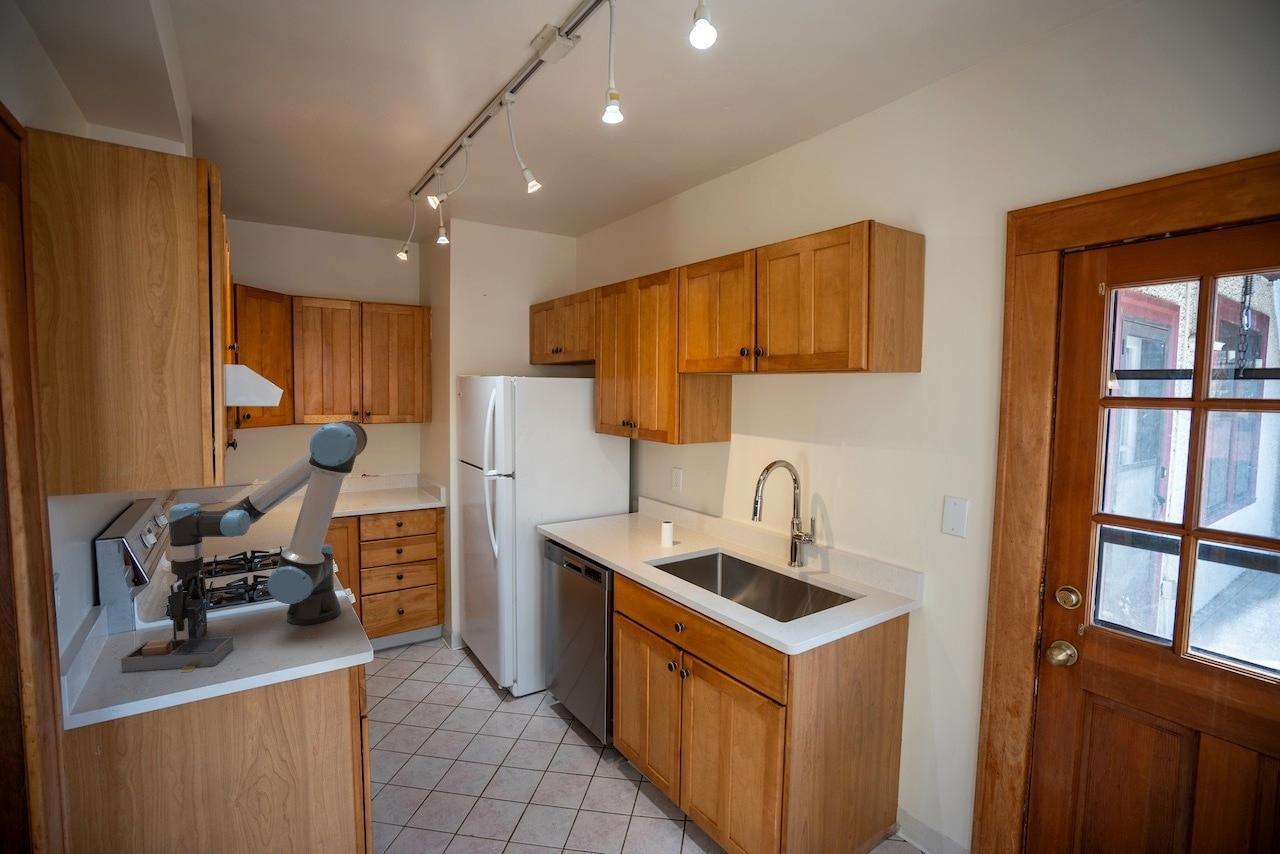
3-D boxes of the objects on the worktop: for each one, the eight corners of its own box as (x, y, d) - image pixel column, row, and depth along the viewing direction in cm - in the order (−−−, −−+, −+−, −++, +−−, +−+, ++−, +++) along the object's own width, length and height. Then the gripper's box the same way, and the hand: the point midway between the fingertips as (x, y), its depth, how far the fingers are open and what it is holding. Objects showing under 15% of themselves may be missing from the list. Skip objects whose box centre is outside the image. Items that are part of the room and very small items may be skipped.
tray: (146, 653, 169) (146, 641, 169) (233, 648, 173) (232, 636, 173) (115, 676, 157) (114, 663, 156) (209, 670, 160) (209, 657, 160)
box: (196, 643, 176) (194, 607, 175) (173, 645, 175) (171, 609, 174) (208, 632, 184) (206, 598, 183) (186, 634, 182) (184, 599, 181)
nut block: (150, 658, 167) (149, 641, 166) (172, 656, 168) (172, 638, 168) (143, 667, 162) (142, 648, 162) (166, 664, 164) (165, 646, 163)
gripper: (191, 548, 187) (195, 621, 189) (150, 569, 166) (155, 651, 168) (219, 547, 188) (222, 619, 190) (181, 568, 168) (185, 649, 169)
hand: (190, 634), depth 179 cm, fingers closed on box, 8 cm apart
